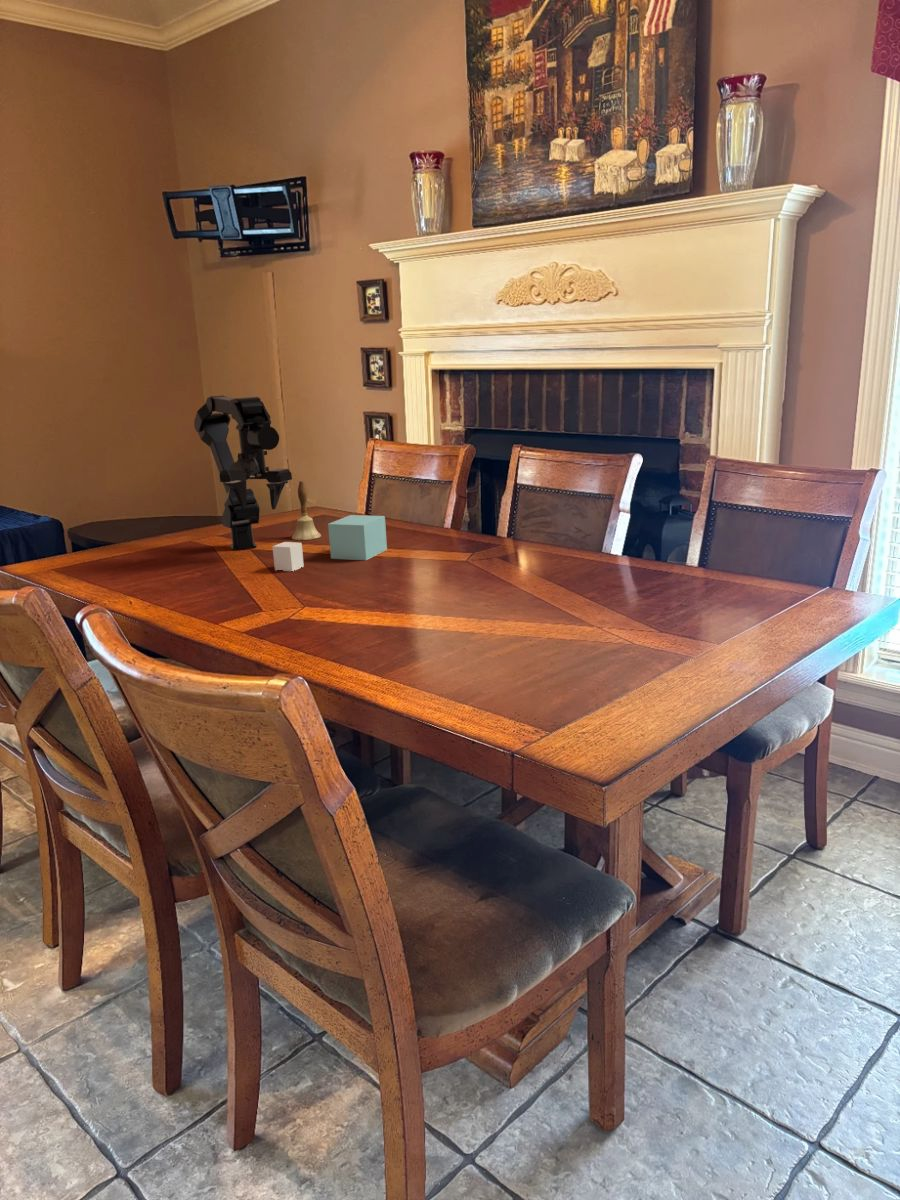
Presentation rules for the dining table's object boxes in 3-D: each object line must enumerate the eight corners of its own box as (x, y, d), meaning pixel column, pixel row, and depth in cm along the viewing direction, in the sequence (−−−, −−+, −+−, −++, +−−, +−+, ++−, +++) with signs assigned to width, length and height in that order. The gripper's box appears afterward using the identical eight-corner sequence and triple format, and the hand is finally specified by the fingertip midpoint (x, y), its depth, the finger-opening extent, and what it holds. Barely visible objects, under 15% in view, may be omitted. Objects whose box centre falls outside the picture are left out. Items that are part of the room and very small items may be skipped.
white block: (275, 570, 206) (272, 546, 204) (286, 565, 210) (284, 541, 208) (292, 571, 204) (290, 547, 202) (303, 566, 208) (301, 542, 206)
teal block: (331, 559, 215) (328, 524, 212) (353, 548, 226) (350, 515, 223) (366, 560, 211) (363, 525, 209) (387, 550, 222) (384, 516, 220)
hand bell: (290, 536, 244) (284, 480, 240) (318, 533, 247) (313, 478, 242) (293, 541, 237) (288, 484, 232) (323, 538, 239) (318, 482, 235)
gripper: (201, 451, 212) (209, 513, 216) (264, 451, 205) (271, 515, 209) (229, 446, 222) (236, 506, 226) (290, 446, 214) (296, 507, 219)
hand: (258, 508), depth 220 cm, fingers open, 9 cm apart
